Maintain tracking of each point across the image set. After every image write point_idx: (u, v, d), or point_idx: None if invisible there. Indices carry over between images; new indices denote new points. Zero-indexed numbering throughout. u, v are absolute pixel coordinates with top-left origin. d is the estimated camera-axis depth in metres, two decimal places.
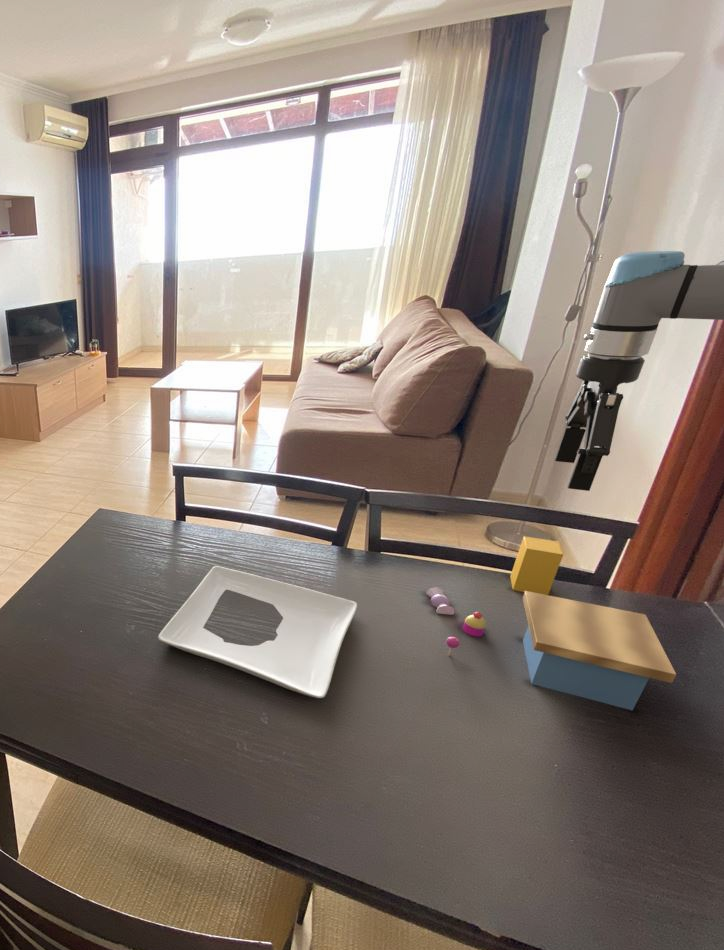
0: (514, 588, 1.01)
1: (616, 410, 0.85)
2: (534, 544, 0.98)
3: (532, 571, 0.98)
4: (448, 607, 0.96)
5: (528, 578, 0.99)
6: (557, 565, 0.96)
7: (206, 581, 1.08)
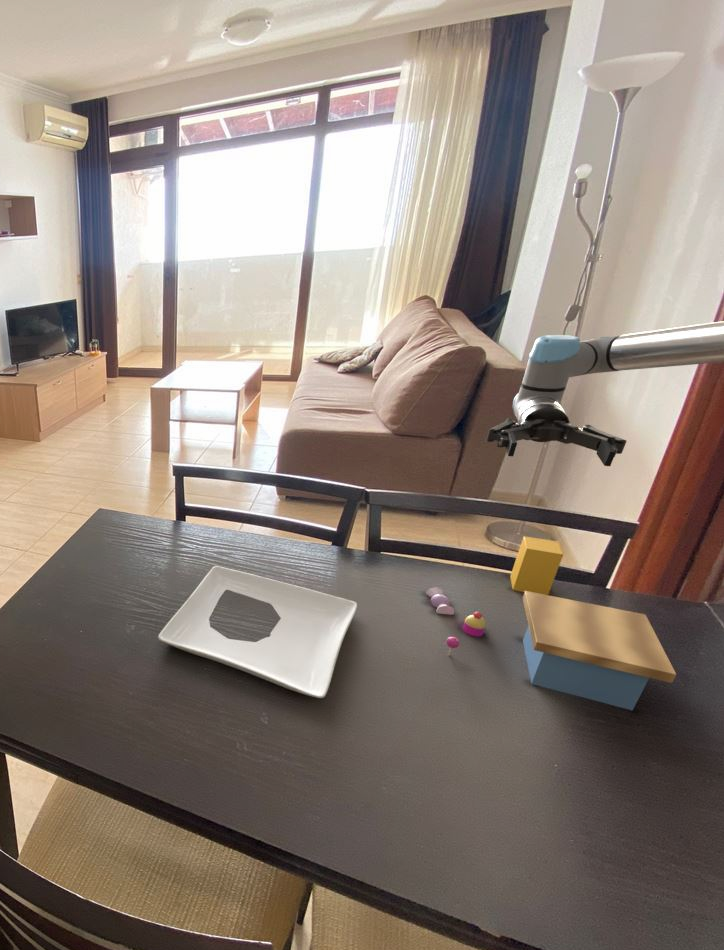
0: (514, 588, 1.01)
1: None
2: (534, 544, 0.98)
3: (532, 571, 0.98)
4: (448, 607, 0.96)
5: (528, 578, 0.99)
6: (557, 565, 0.96)
7: (206, 581, 1.08)
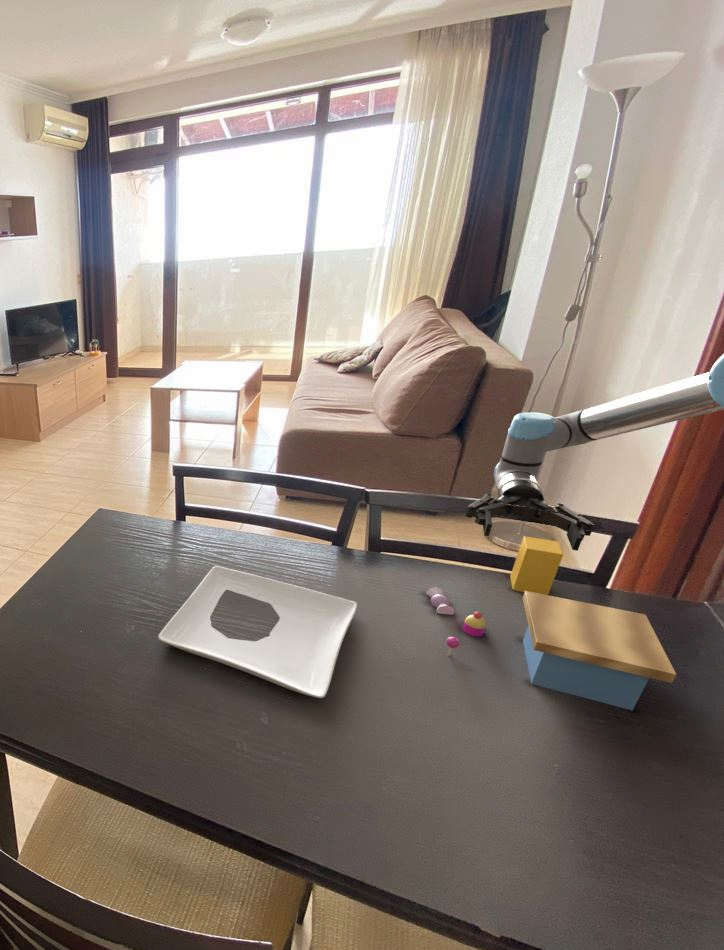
0: (514, 588, 1.01)
1: (483, 498, 1.19)
2: (534, 544, 0.98)
3: (532, 571, 0.98)
4: (448, 607, 0.96)
5: (528, 578, 0.99)
6: (557, 565, 0.96)
7: (206, 581, 1.08)
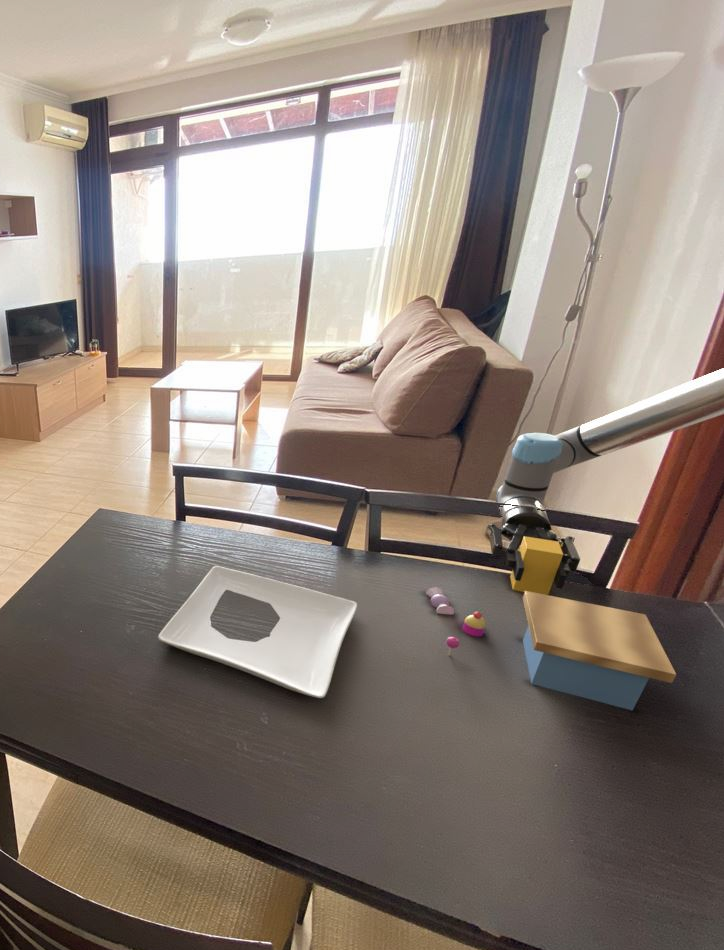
0: (514, 588, 1.01)
1: (492, 530, 1.09)
2: (533, 544, 0.98)
3: (532, 571, 0.98)
4: (448, 607, 0.96)
5: (528, 578, 0.99)
6: (557, 565, 0.96)
7: (206, 581, 1.08)
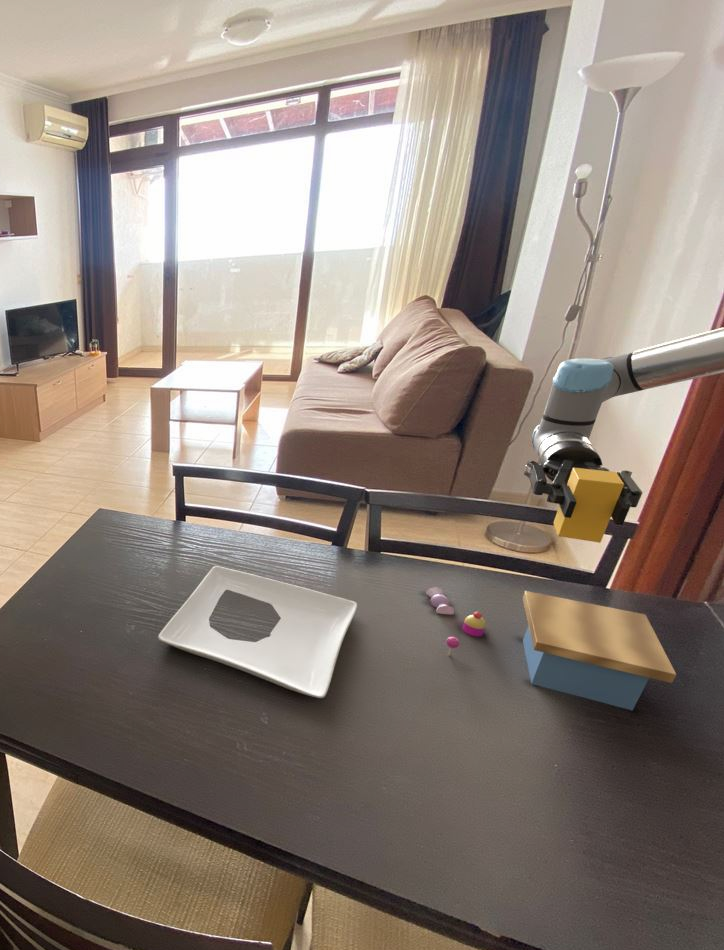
0: (562, 529, 0.85)
1: (532, 467, 0.93)
2: (586, 474, 0.83)
3: (585, 507, 0.83)
4: (448, 607, 0.96)
5: (579, 516, 0.83)
6: (616, 498, 0.80)
7: (206, 581, 1.08)
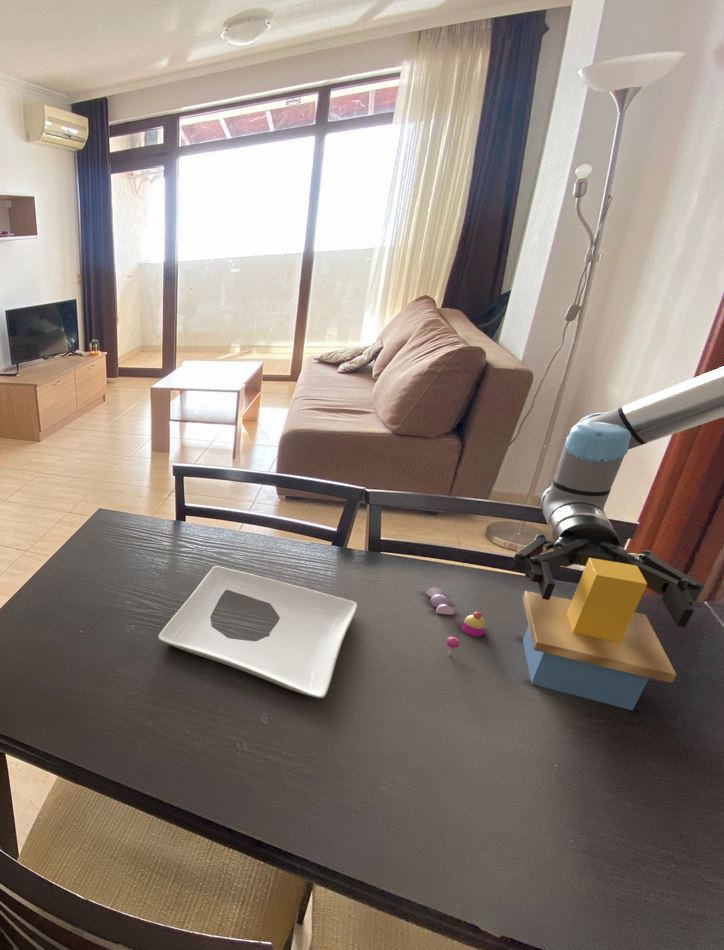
0: (577, 625, 0.77)
1: None
2: (604, 568, 0.75)
3: (603, 605, 0.75)
4: (448, 607, 0.96)
5: (597, 613, 0.75)
6: (638, 598, 0.72)
7: (206, 581, 1.08)
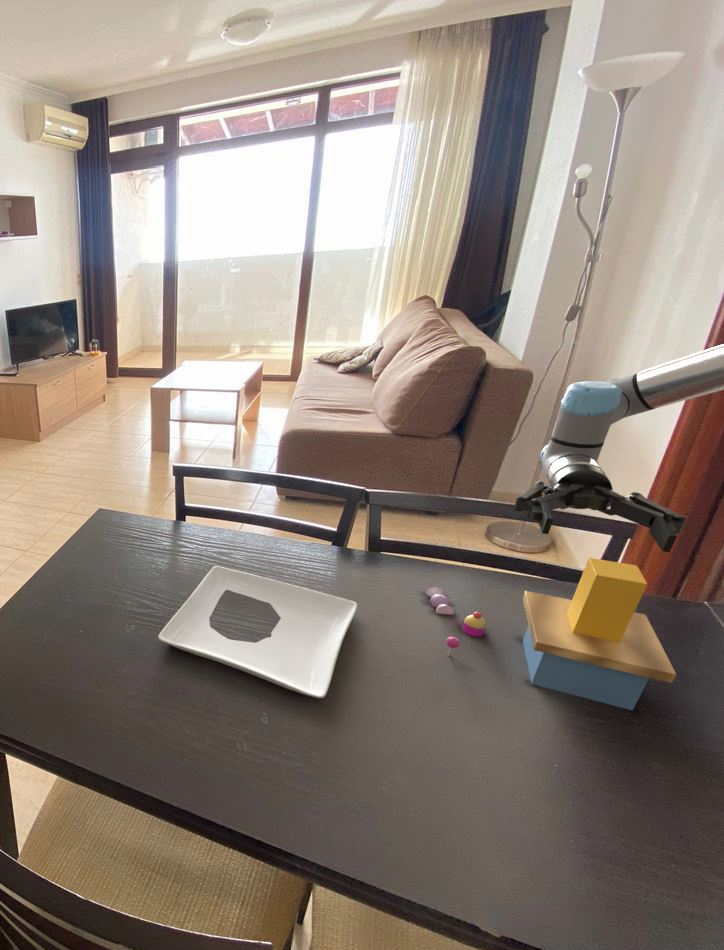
0: (577, 625, 0.77)
1: None
2: (604, 568, 0.75)
3: (603, 605, 0.75)
4: (448, 607, 0.96)
5: (597, 613, 0.75)
6: (638, 598, 0.72)
7: (206, 581, 1.08)
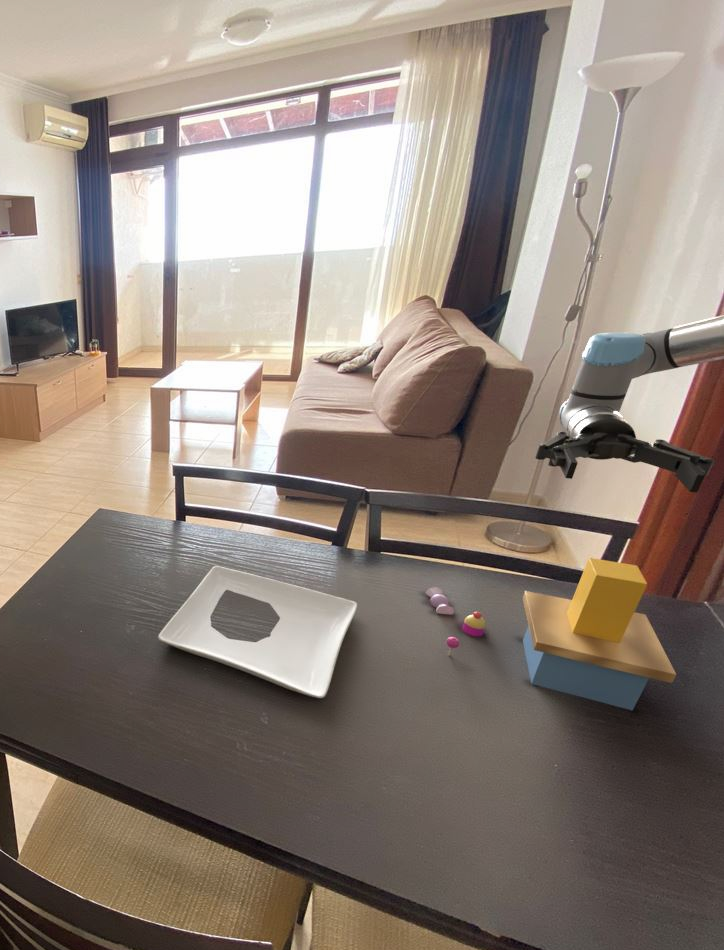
0: (577, 625, 0.77)
1: None
2: (604, 568, 0.75)
3: (603, 605, 0.75)
4: (448, 607, 0.96)
5: (597, 613, 0.75)
6: (638, 598, 0.72)
7: (206, 581, 1.08)
